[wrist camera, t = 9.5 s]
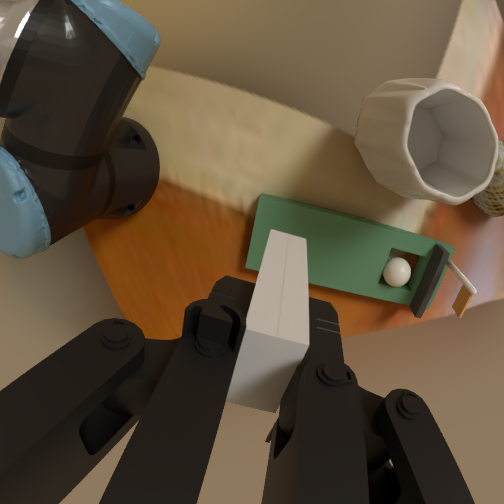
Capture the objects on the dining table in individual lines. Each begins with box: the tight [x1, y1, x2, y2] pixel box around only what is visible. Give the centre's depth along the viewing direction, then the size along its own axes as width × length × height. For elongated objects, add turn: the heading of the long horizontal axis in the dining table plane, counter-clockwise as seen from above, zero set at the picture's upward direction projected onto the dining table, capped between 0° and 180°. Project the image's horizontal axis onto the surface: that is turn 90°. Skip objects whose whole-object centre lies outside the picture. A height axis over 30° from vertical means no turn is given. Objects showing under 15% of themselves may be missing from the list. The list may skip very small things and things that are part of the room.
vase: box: [354, 78, 499, 205], centre depth 26 cm, size 14×14×15 cm
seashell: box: [472, 141, 504, 217], centre depth 29 cm, size 10×10×10 cm
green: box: [245, 194, 477, 318], centre depth 35 cm, size 28×10×12 cm, turn 79°
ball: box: [383, 257, 411, 287], centre depth 38 cm, size 4×4×4 cm
